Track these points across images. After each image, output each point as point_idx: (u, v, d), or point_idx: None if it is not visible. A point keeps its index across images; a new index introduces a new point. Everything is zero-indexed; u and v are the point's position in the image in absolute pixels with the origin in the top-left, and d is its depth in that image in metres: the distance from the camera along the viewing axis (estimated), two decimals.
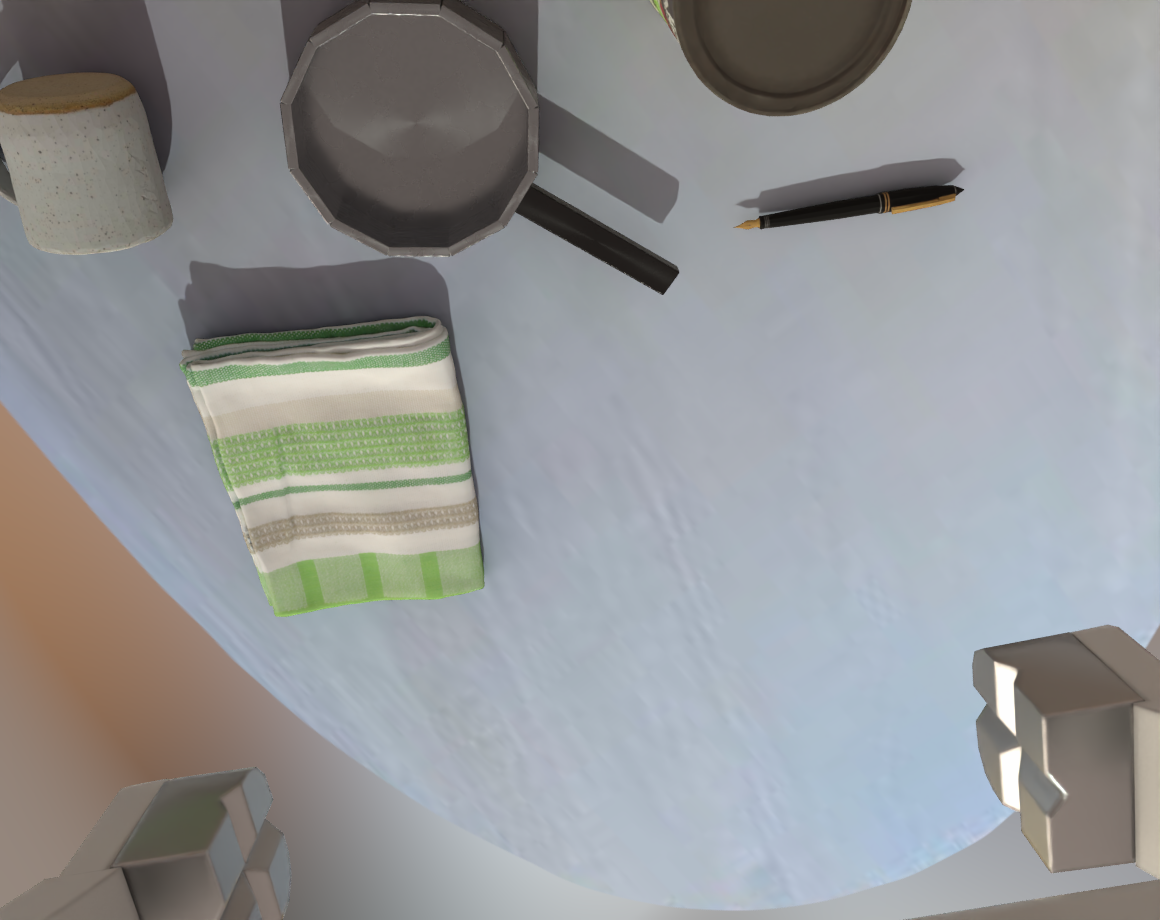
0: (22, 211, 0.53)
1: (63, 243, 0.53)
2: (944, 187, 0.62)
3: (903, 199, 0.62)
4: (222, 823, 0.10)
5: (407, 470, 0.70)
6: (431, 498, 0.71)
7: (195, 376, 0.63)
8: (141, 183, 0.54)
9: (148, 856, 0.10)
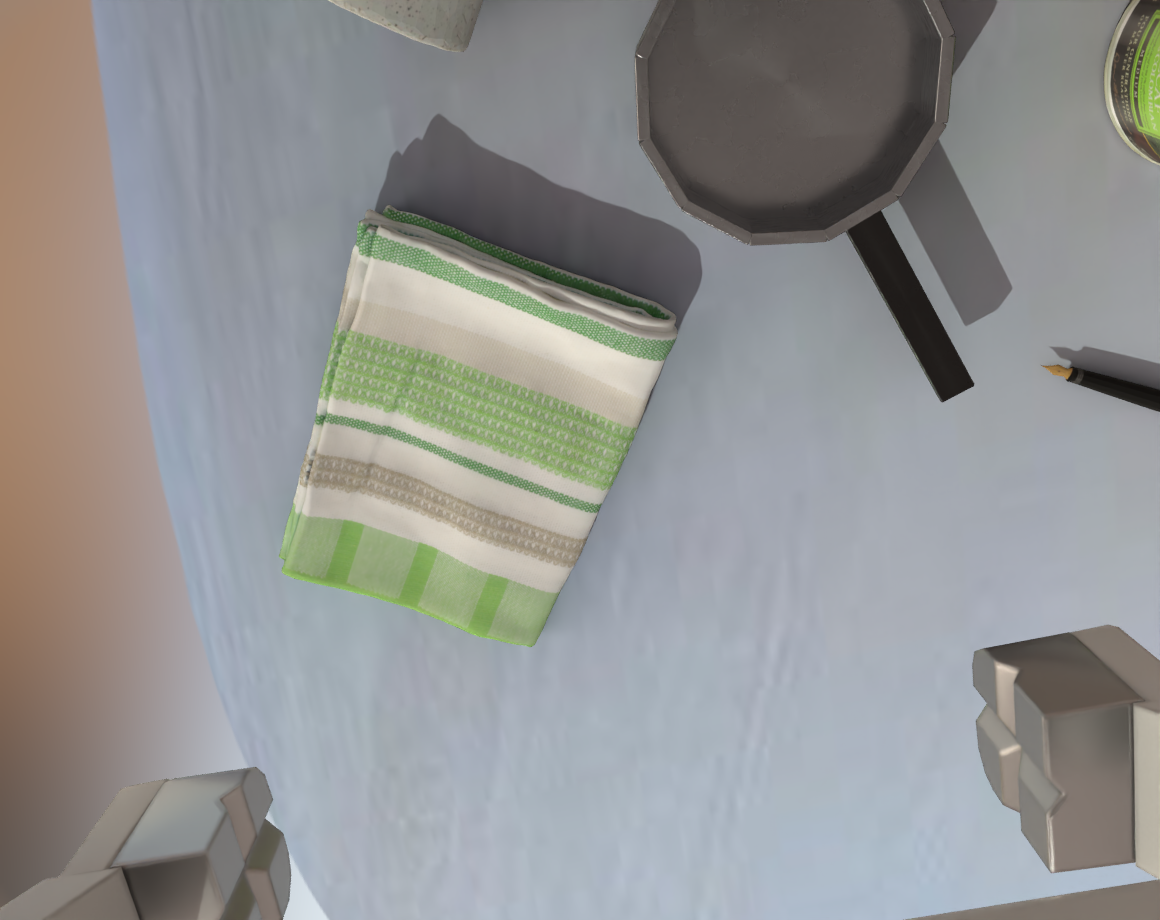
0: None
1: None
2: None
3: None
4: (222, 823, 0.10)
5: (536, 470, 0.56)
6: (542, 515, 0.57)
7: (376, 242, 0.49)
8: None
9: (148, 856, 0.10)
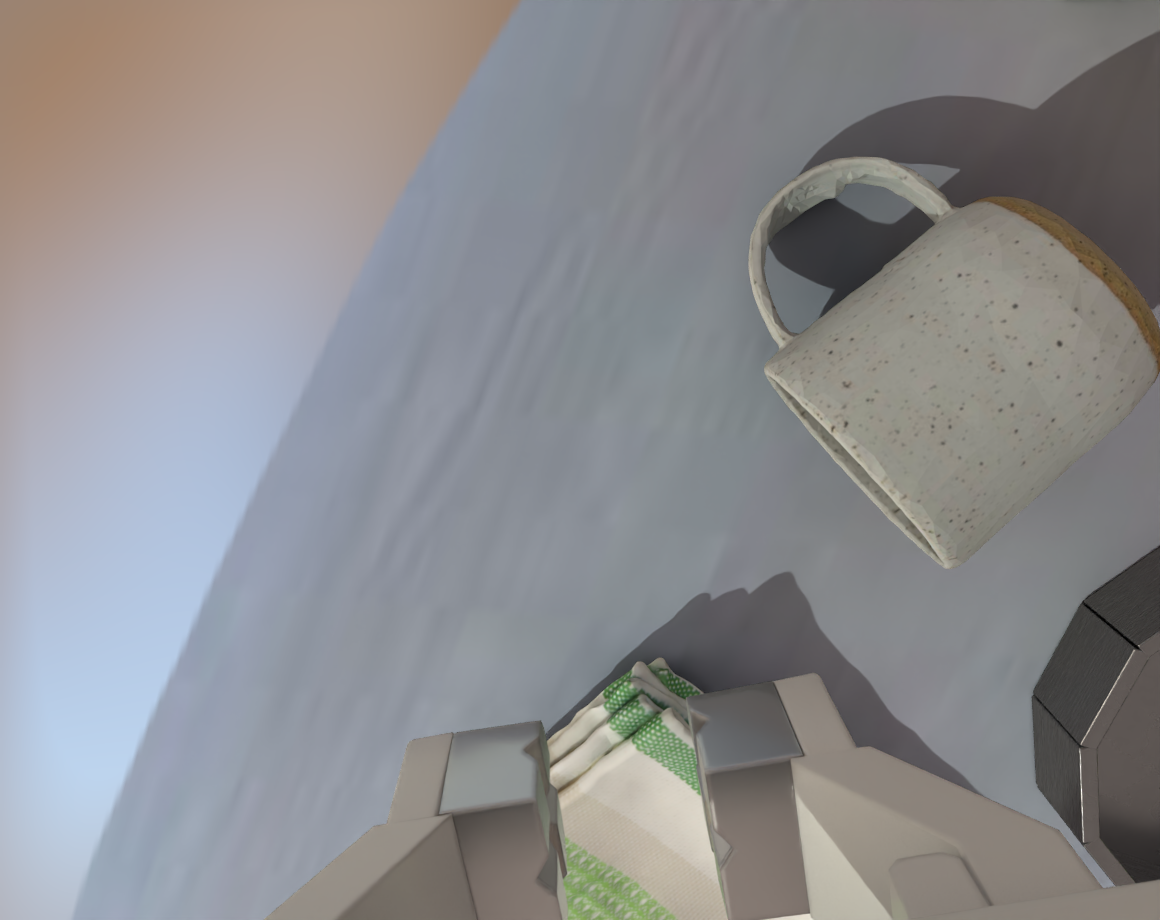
0: (875, 360, 0.25)
1: (907, 472, 0.25)
2: None
3: None
4: (537, 772, 0.10)
5: None
6: None
7: (656, 733, 0.31)
8: None
9: (474, 803, 0.10)
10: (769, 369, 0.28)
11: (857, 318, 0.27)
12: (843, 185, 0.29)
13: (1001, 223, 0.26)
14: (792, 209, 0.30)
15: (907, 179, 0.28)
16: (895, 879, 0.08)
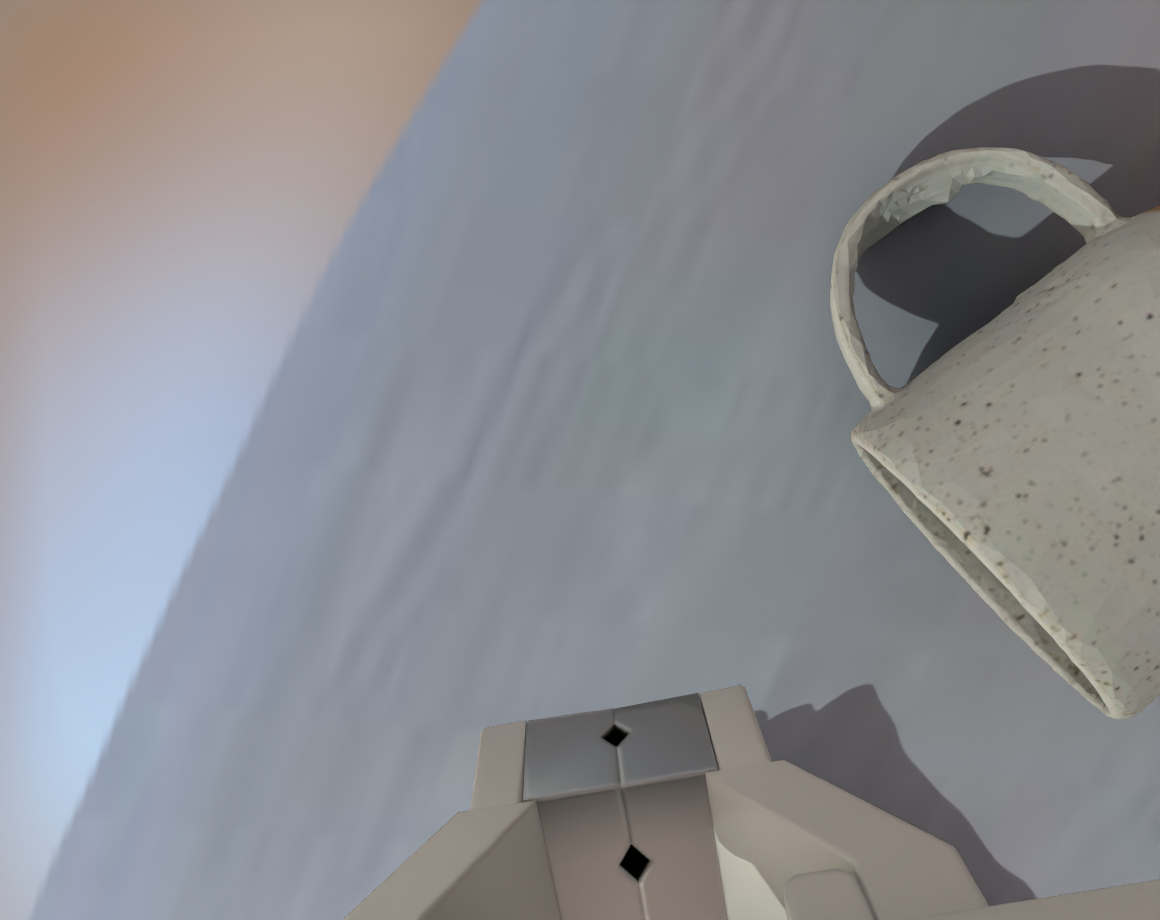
0: (1028, 437, 0.18)
1: (1078, 602, 0.17)
2: None
3: None
4: (618, 759, 0.10)
5: None
6: None
7: None
8: None
9: (557, 790, 0.10)
10: (864, 439, 0.20)
11: (994, 374, 0.19)
12: (960, 186, 0.22)
13: None
14: (889, 218, 0.22)
15: (1053, 178, 0.21)
16: (788, 896, 0.08)
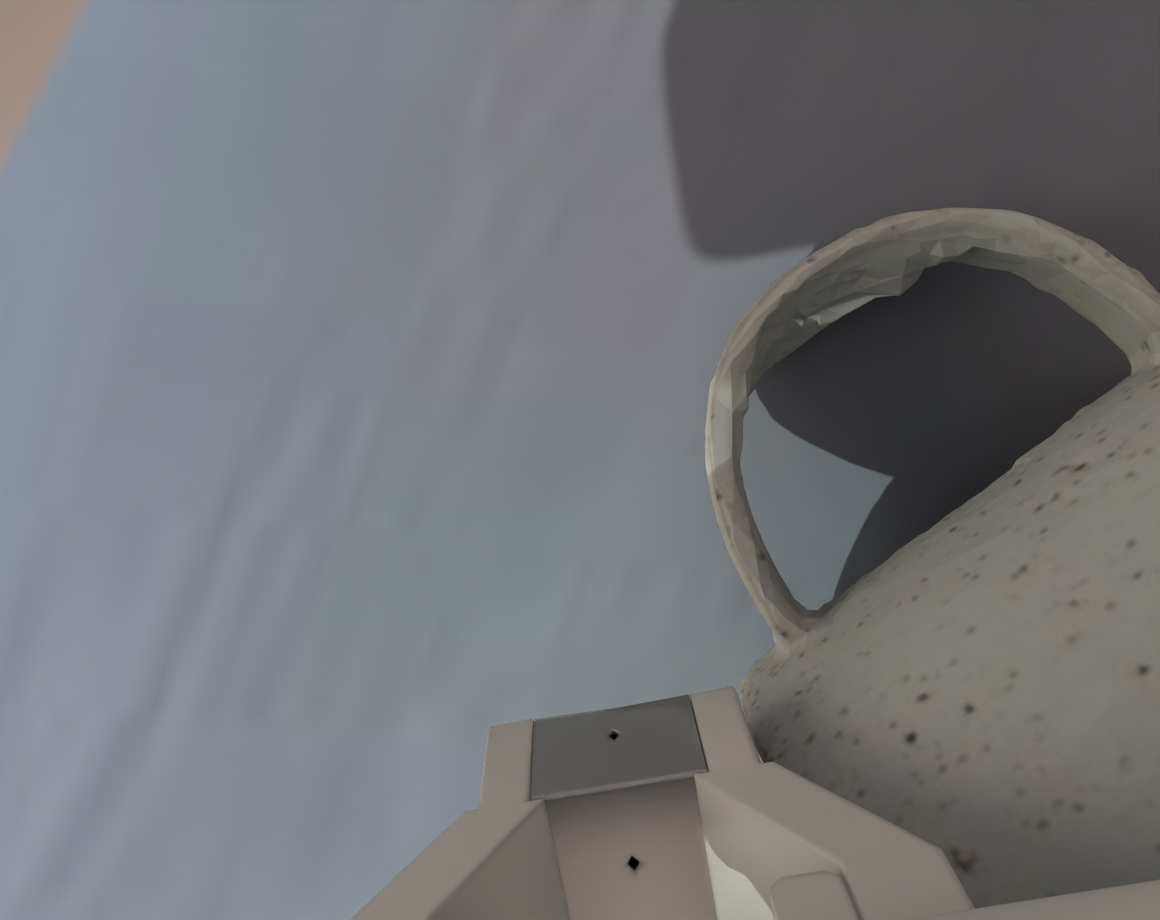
0: (1045, 796, 0.09)
1: None
2: None
3: None
4: (625, 757, 0.10)
5: None
6: None
7: None
8: None
9: (565, 788, 0.10)
10: (751, 725, 0.12)
11: (979, 640, 0.10)
12: (920, 270, 0.13)
13: None
14: (804, 322, 0.13)
15: (1079, 263, 0.12)
16: (775, 898, 0.08)
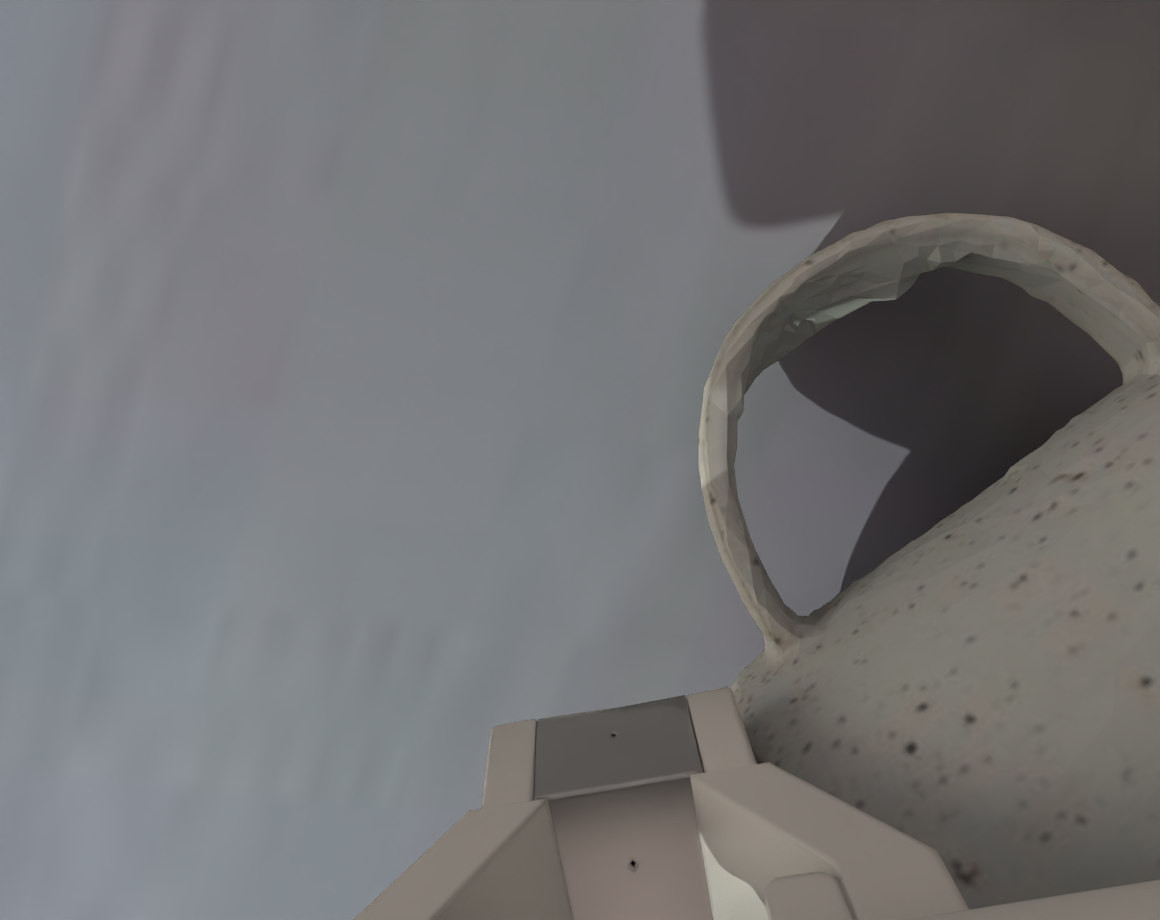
0: (1048, 809, 0.09)
1: None
2: None
3: None
4: (629, 757, 0.10)
5: None
6: None
7: None
8: None
9: (569, 788, 0.10)
10: None
11: (979, 650, 0.10)
12: (916, 275, 0.13)
13: None
14: (799, 325, 0.13)
15: (1077, 271, 0.12)
16: (770, 899, 0.08)
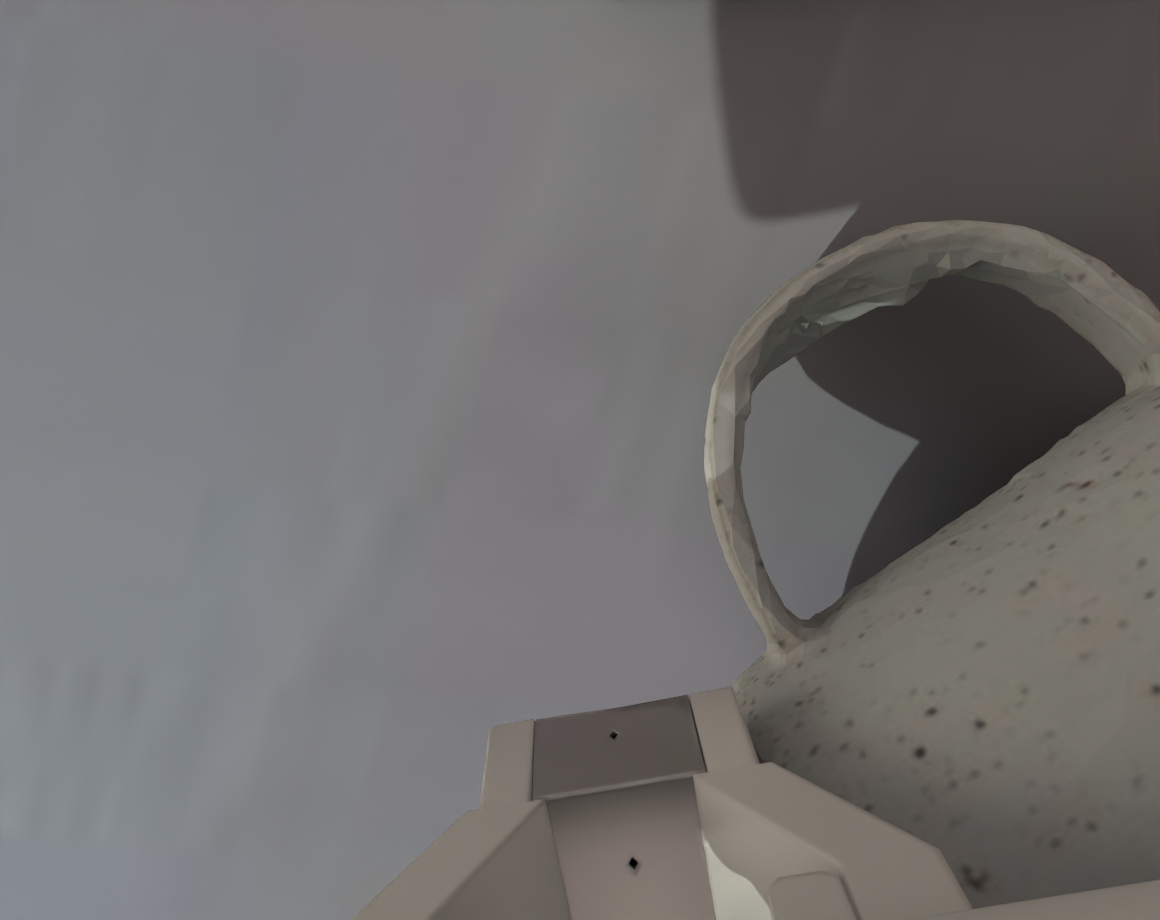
0: (1058, 815, 0.09)
1: None
2: None
3: None
4: (627, 757, 0.10)
5: None
6: None
7: None
8: None
9: (567, 788, 0.10)
10: None
11: (988, 655, 0.10)
12: (924, 281, 0.13)
13: None
14: (807, 328, 0.13)
15: (1086, 281, 0.12)
16: (773, 898, 0.08)
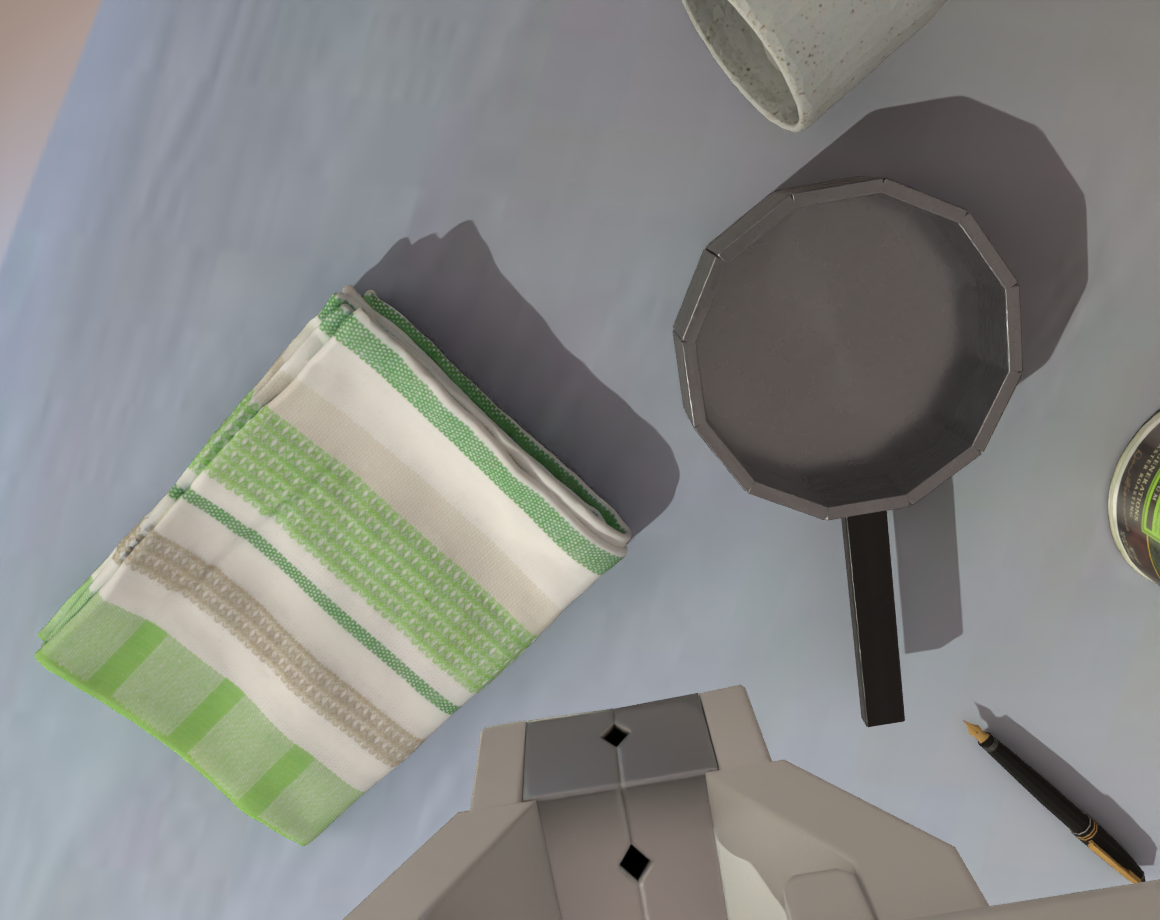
0: None
1: (765, 7, 0.34)
2: (1137, 865, 0.52)
3: (1105, 842, 0.51)
4: (618, 759, 0.10)
5: (405, 643, 0.47)
6: (389, 697, 0.47)
7: (349, 323, 0.41)
8: (869, 65, 0.36)
9: (557, 790, 0.10)
10: None
11: None
12: None
13: None
14: None
15: None
16: (788, 896, 0.08)
